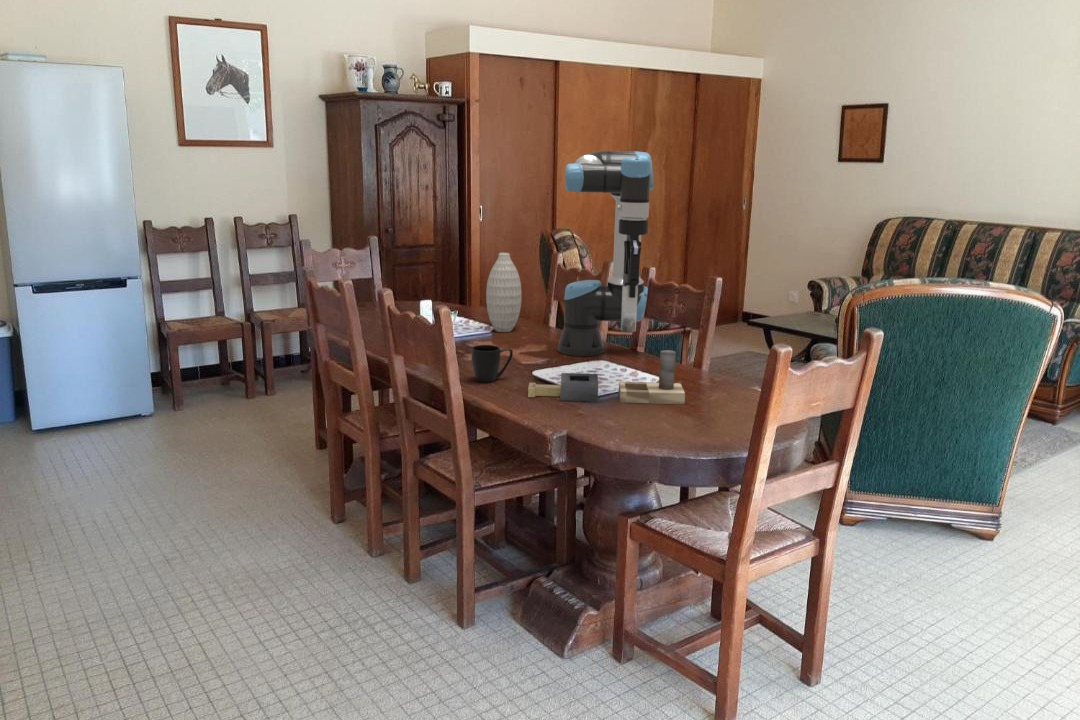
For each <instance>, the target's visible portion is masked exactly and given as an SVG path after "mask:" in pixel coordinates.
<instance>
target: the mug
mask: <svg viewBox="0 0 1080 720" xmlns="http://www.w3.org/2000/svg"><path fill="white" fill-rule="evenodd" d="M503 352H509V357H508V358H507V361H506V362H505V364H504V366H503V367H502V369H501V370H500V371H499V368H500V363H501V353H503ZM513 354H514V351H513V348H503V349H501V348H500V346H498V345H494V344H493V345H491V344H479V345H475V346H472V347H471V364H472V369H473V373H474V376H475V381H477V382H479V383H485V384H486V383H494V382H495V381H496V379H498V378H500V377H501V376H502V374H503V373H504V372H505V371H506V369H507V367H508V365H509V364H510V362H511V360H512V358H513Z"/></svg>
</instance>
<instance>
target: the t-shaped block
mask: <svg viewBox="0 0 1080 720" xmlns="http://www.w3.org/2000/svg"><path fill="white" fill-rule="evenodd" d="M528 383H529V384H528V388H527V398H536V397H561V384H537V383H536V382H528Z"/></svg>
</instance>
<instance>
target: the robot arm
mask: <svg viewBox="0 0 1080 720" xmlns="http://www.w3.org/2000/svg"><path fill="white" fill-rule="evenodd" d="M652 163H653V162H652V156H651V154H650V153H648V152H643V151H636V150H633V151H632V150H631V151H625V150H624V151H622V150H620V151H619V150H613V151H612V150H608V151H607V150H600V151H599V150H598V151H593V152H590V153H586V154H584V155H581V156H580V157H578V158H577V159H576V160H575V162H574V163H568V164H566V166H565V174H564V175H565V176H564V180H565V181H564V188H565V190H566V191H567V192H569V193H570V192H572V193H604V194H605V193H607V194H610V196H611V197H612V198H613V199H614V200H615V211H614V213H615V214H614V235H613V236H614V240H613V257H612V258H613V259H612V260H613V262H612V275H611V276H610V277H609V278H608V279H607V285H606V284H605V285H603V284H602V282H601V281H600V280H598V279H586V280H585V279H584V280H578V281H574V282H571V283H568V284H567V285H566V287H565V290H564V298H563V300H564V315H563V316H564V318H563V322H564V323H563V329H562V331H561V334H560V338H559V340H558V344H557V351H558V352H559V353H560V354H563V355H565V356H566V355H568V356H573V357H574V356H575V357H593V356H599V355H602V354H603V353H604V350H605V347H604V346H605V345H604V342H603V338H602V334H601V331H600V322H620V323H621V313H622V290H623V274H627V273H628V282H627V283H625V285H627V288H626V310H636V303H637V316H636V323H637V322H641V321H642V320H643V317H644V315H645V311H646V307H647V301H648V294H649V293H648V292H649V288H648V286H646V285H644V283H645V281H644V279H642V277H641V276H640V271H641V270H640V268H641V252H642V251H641V250H642V236H646V235H647V234H649V233H648V231H649V230H648V229H649V220H647V219H648V218H650V217H649V215H650V214H649V213H650V192H651V191H653V190H654V173H653V164H652ZM637 284H638V295H637Z"/></svg>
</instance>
